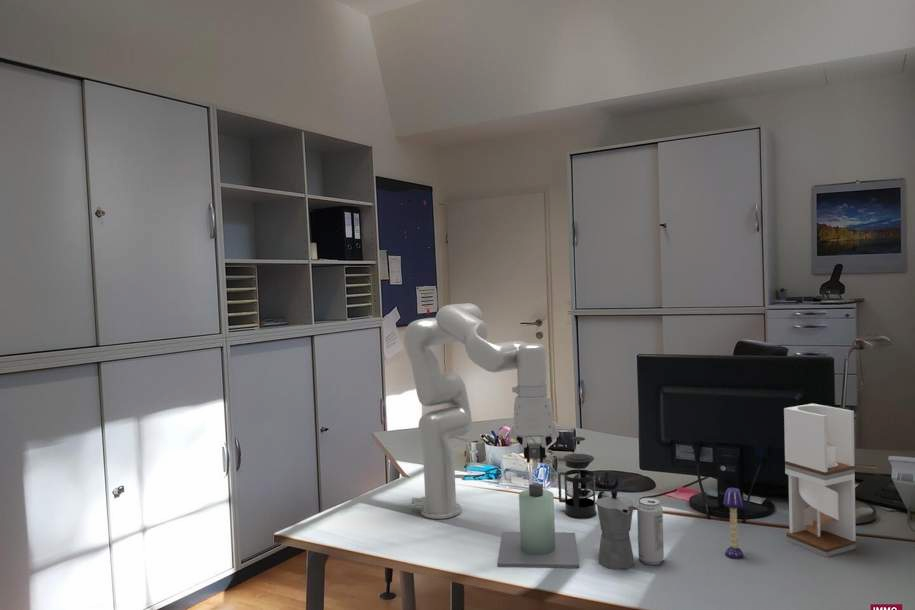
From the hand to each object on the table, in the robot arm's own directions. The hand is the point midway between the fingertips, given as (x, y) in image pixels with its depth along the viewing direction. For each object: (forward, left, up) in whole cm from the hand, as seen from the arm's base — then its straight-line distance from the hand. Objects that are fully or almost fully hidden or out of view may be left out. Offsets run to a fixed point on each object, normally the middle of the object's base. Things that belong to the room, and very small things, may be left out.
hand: (534, 460), depth 170 cm
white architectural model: (+72, +6, -24) cm, 76 cm away
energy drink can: (+28, -5, -24) cm, 37 cm away
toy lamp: (+49, -1, -24) cm, 55 cm away
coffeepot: (+19, -5, -24) cm, 31 cm away
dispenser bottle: (0, 0, -24) cm, 24 cm away
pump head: (0, -2, -2) cm, 3 cm away
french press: (+12, +27, -24) cm, 38 cm away
